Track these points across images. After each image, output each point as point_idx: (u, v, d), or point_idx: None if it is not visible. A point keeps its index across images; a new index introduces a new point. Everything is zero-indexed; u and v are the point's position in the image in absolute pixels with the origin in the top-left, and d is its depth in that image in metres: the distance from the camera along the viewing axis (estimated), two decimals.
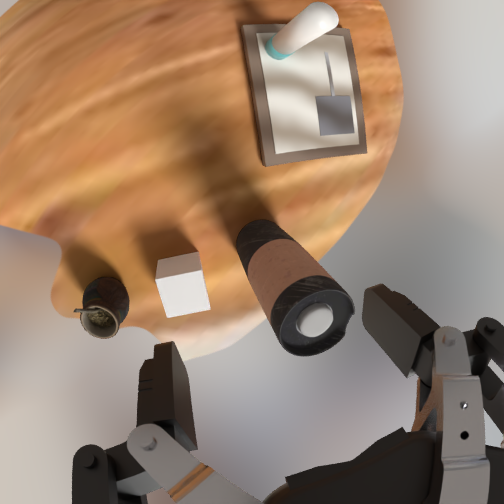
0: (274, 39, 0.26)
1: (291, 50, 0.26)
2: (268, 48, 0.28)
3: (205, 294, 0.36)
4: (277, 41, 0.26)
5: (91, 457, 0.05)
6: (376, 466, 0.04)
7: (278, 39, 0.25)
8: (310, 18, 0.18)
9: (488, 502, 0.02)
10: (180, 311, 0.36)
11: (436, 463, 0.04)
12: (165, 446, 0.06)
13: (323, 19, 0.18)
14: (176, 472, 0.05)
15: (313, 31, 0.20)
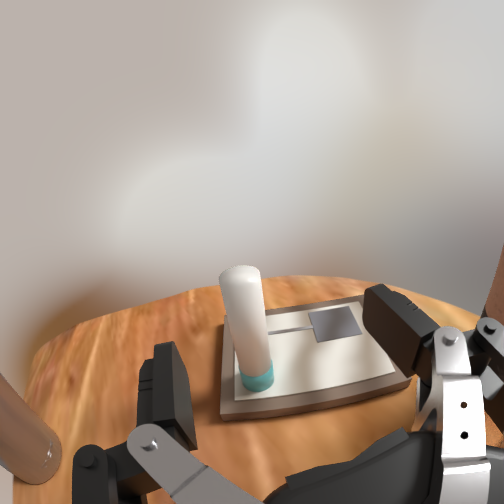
0: (251, 370, 0.25)
1: (269, 349, 0.26)
2: (260, 385, 0.26)
3: None
4: (257, 364, 0.25)
5: (91, 457, 0.05)
6: (376, 466, 0.04)
7: (255, 361, 0.24)
8: (245, 284, 0.21)
9: (488, 501, 0.02)
10: None
11: (436, 463, 0.04)
12: (165, 446, 0.06)
13: (245, 275, 0.22)
14: (176, 472, 0.05)
15: (260, 291, 0.22)
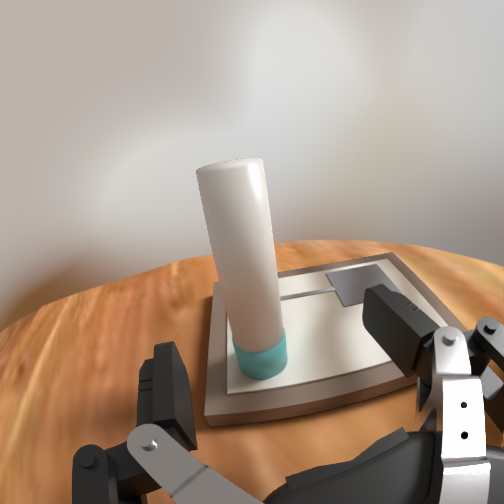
0: (253, 340, 0.16)
1: (280, 306, 0.17)
2: (268, 367, 0.17)
3: None
4: (262, 328, 0.15)
5: (91, 457, 0.05)
6: (376, 466, 0.04)
7: (259, 324, 0.15)
8: (240, 166, 0.12)
9: (488, 502, 0.02)
10: None
11: (436, 463, 0.04)
12: (165, 446, 0.06)
13: (239, 163, 0.13)
14: (176, 472, 0.05)
15: (264, 188, 0.13)
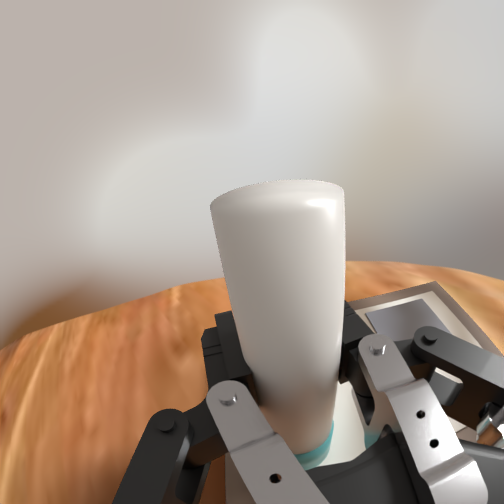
0: (295, 445, 0.09)
1: None
2: (309, 463, 0.10)
3: None
4: (310, 435, 0.09)
5: (169, 421, 0.06)
6: (376, 466, 0.04)
7: (307, 431, 0.09)
8: (310, 208, 0.06)
9: (488, 502, 0.02)
10: None
11: (415, 479, 0.04)
12: (248, 398, 0.07)
13: (296, 192, 0.07)
14: (244, 431, 0.06)
15: (344, 244, 0.07)
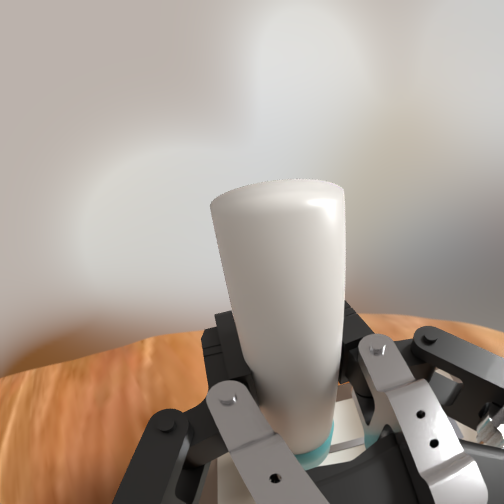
0: (295, 445, 0.09)
1: None
2: (309, 463, 0.10)
3: None
4: (310, 435, 0.09)
5: (169, 421, 0.06)
6: (376, 466, 0.04)
7: (307, 431, 0.09)
8: (310, 207, 0.05)
9: (488, 501, 0.02)
10: None
11: (415, 479, 0.04)
12: (248, 398, 0.07)
13: (296, 192, 0.07)
14: (244, 432, 0.06)
15: (345, 244, 0.07)
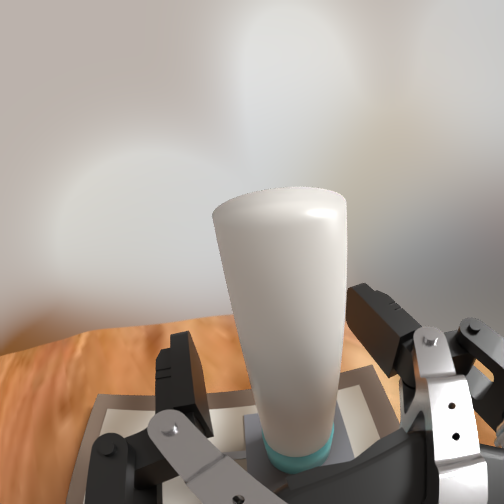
0: (296, 448, 0.09)
1: None
2: (309, 466, 0.10)
3: None
4: (311, 438, 0.09)
5: (111, 445, 0.05)
6: (376, 466, 0.04)
7: (308, 435, 0.09)
8: (313, 218, 0.06)
9: (489, 501, 0.02)
10: None
11: (430, 467, 0.04)
12: (187, 430, 0.06)
13: (298, 201, 0.07)
14: (193, 459, 0.05)
15: (346, 253, 0.07)
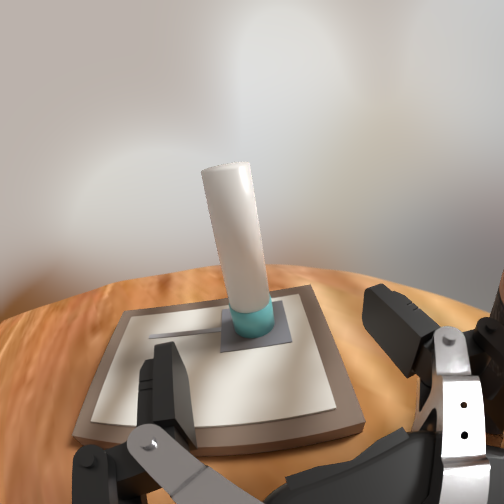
0: (244, 302, 0.21)
1: (266, 276, 0.21)
2: (257, 327, 0.22)
3: None
4: (251, 291, 0.20)
5: (91, 457, 0.05)
6: (376, 466, 0.04)
7: (248, 287, 0.20)
8: (232, 168, 0.17)
9: (488, 501, 0.02)
10: None
11: (436, 463, 0.04)
12: (165, 446, 0.06)
13: (232, 165, 0.18)
14: (176, 472, 0.05)
15: (251, 183, 0.18)
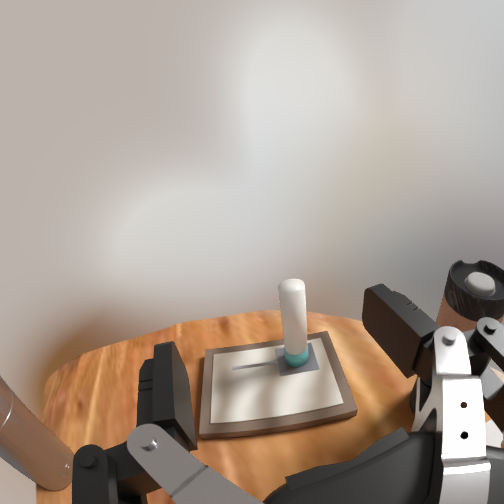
0: (295, 350, 0.37)
1: None
2: (300, 361, 0.38)
3: None
4: (299, 345, 0.36)
5: (91, 457, 0.05)
6: (376, 466, 0.04)
7: (298, 343, 0.36)
8: (297, 291, 0.33)
9: (488, 502, 0.02)
10: None
11: (436, 463, 0.04)
12: (165, 446, 0.06)
13: (295, 285, 0.34)
14: (176, 472, 0.05)
15: (304, 295, 0.34)
